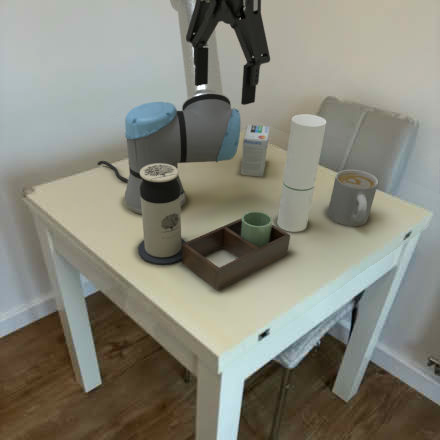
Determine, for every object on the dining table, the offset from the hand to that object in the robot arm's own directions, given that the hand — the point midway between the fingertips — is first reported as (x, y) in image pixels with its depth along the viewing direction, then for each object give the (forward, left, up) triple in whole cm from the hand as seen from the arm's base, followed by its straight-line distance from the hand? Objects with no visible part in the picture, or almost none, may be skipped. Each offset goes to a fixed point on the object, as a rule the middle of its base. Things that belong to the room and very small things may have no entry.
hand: (223, 93), depth 87 cm
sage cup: (+11, +1, -31) cm, 33 cm away
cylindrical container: (+9, +16, -31) cm, 36 cm away
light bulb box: (-19, +30, -31) cm, 47 cm away
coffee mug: (+16, +29, -31) cm, 45 cm away
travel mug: (-1, -15, -30) cm, 34 cm away
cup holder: (+11, -5, -31) cm, 33 cm away
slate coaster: (-1, -15, -31) cm, 34 cm away
